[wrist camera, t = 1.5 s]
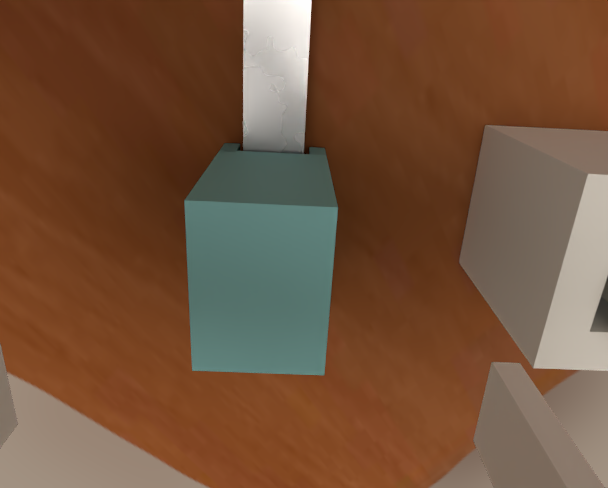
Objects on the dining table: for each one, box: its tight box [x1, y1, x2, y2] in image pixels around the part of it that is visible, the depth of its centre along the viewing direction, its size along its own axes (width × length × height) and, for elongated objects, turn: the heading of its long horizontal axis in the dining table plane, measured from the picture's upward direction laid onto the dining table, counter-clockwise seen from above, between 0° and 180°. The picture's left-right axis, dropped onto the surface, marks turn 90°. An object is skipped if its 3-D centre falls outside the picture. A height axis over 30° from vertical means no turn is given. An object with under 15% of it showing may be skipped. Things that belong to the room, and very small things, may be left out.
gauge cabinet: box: [459, 125, 608, 371], centre depth 23 cm, size 9×8×10 cm
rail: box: [243, 0, 312, 154], centre depth 23 cm, size 24×5×5 cm, turn 177°
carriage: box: [184, 143, 338, 375], centre depth 22 cm, size 7×5×10 cm
